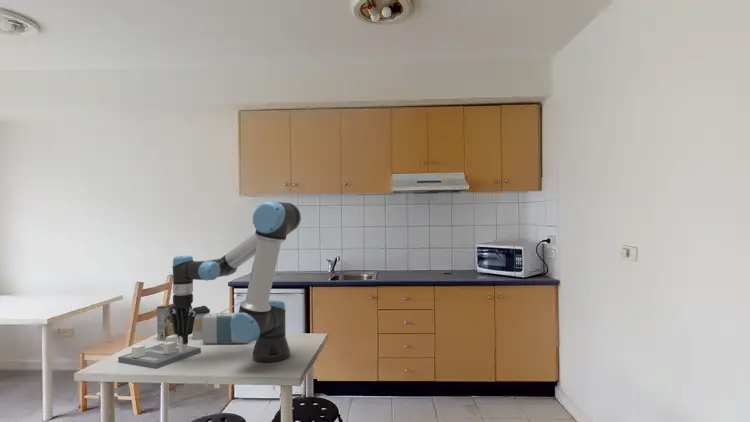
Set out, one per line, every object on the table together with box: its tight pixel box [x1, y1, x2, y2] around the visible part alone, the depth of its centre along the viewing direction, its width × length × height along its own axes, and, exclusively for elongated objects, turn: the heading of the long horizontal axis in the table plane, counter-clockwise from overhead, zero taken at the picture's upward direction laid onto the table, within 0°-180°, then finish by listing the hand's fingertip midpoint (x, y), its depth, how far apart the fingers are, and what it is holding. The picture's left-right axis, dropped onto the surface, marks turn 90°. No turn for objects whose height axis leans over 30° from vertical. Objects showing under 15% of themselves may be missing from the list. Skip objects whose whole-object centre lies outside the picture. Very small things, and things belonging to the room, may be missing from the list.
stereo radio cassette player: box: [202, 301, 246, 345], centre depth 201 cm, size 21×8×20 cm, turn 88°
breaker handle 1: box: [131, 344, 146, 358], centre depth 174 cm, size 3×4×4 cm
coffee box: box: [156, 303, 178, 342], centre depth 210 cm, size 9×6×16 cm
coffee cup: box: [191, 305, 211, 341], centre depth 210 cm, size 9×9×15 cm
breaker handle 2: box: [165, 335, 179, 345], centre depth 189 cm, size 3×4×4 cm
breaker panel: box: [117, 342, 202, 370], centre depth 180 cm, size 22×22×2 cm
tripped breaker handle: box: [162, 341, 176, 354], centre depth 178 cm, size 3×4×4 cm
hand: (183, 351), depth 175 cm, fingers closed
